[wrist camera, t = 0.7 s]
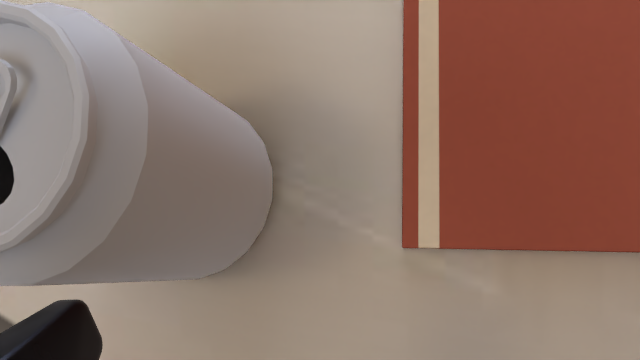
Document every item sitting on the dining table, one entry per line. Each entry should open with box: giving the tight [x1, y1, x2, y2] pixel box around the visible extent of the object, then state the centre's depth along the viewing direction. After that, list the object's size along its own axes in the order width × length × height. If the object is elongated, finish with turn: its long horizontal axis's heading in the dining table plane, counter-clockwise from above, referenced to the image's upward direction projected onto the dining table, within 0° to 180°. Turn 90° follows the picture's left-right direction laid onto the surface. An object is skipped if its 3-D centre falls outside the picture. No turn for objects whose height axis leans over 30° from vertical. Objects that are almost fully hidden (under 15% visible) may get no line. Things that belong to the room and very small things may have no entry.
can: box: [0, 0, 273, 286], centre depth 19 cm, size 8×8×12 cm
